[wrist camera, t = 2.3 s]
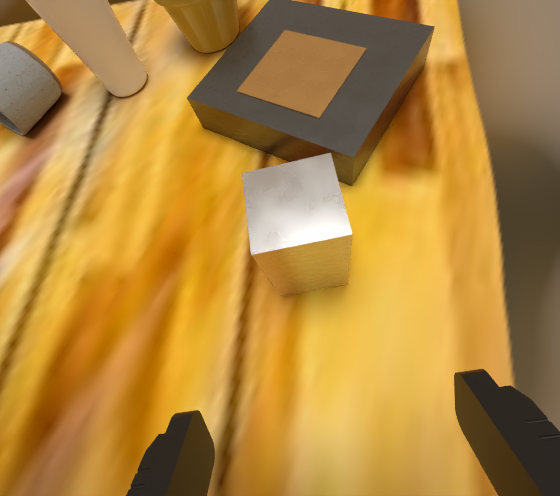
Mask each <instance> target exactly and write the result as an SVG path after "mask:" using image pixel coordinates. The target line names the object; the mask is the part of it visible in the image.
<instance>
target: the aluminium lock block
mask: <svg viewBox="0 0 560 496" xmlns="http://www.w3.org/2000/svg"><path fill="white" fill-rule="evenodd" d="M242 177H243V186H244V195H245V203H246V212H247V221H248V230H249V239H250V248H251V255H252V257H253V258H254V259H255V261H256V262H257V263H258V265H259V266H260V268H261V269H262V270H263V272H264V273H265V275H266V276H267V277H268V279H269V280H270V281H271V283H272V284H273V286H274V287H275V288H276V290H277V291H278V292H279V294H280V295H281V297H282V296H287V295H293V294H298V293H304V292H309V291H314V290H320V289H325V288H330V287H336V286H341V285H346V284H348V283H349V270H350V257H351V245H352V231H351V227H350V224H349V220H348V216H347V212H346V208H345V205H344V201H343V197H342V193H341V190H340V186H339V182H338V178H337V174H336V171H335V167H334V163H333V159H332V156H331V153H327V154H323V155H319V156H314V157H310V158H306V159H301V160H297V161H293V162H289V163H284V164H280V165H276V166H271V167H267V168H263V169H259V170H254V171H250V172H246V173H242Z"/></svg>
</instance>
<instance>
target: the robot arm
mask: <svg viewBox="0 0 560 496" xmlns="http://www.w3.org/2000/svg"><path fill="white" fill-rule="evenodd" d="M454 387H455V411H456V416H457V419H458V422H459V425H460V427H461V430H462V432H463V433H464V435H465V437H466V439H467V441H468V442H469V444H470V446H471V448H472V450H473V451H474V453H475V455H476V457H477V458H478V460H479V462H480V464H481V466H482V467H483V469H484V471H485V473H486V474H487V476H488V478H489V480H490V482H491V483H492V485H493V487H494V489H495V490H496V492H497V494H498V496H560V432H559V431H558V429H557V428H556V427H555V426H554V425H553V424H552V423H551V422H549V421H548V419H547V417H546V416H545V415H544V414H543V412H542V411H541V410H540V409H539V408H538V407H537V406H536V404H535V403H534V402H533V401H532V400H531V399H529V398H528V397H526V396H525V395H524V394H522V393H521V392H519V391H518V390H516V389H515V388H513V387H512V386H503V387H499V386H498V385H497V384H496V383H495V381H494V380H493V379H492V378H491V376H490V375H489V374H488V373H487V372H486V371H485V370H484V369H478V370H471V371H464V372H457V373H455V375H454ZM214 459H215V449H214V443H213V440H212V438H211V435H210V433H209V431H208V429H207V426H206V424H205V422H204V419H203V417H202V415H201V413H200V411H198V410H196V411H189V412H182V413H176V414H174V415H173V416H172V418H171V420H170V423H169V425H168V428H167V430H166V433H165V434H159V435H158V436H157V437H156V439H155V440H154V441H153V442H152V444H151V445H150V446H149V448H148V449H147V450H146V452H145V454H144V456H143V458H142V461H141V463H140V465H139V468H138V473H137V474H135V477H134V479H133V481H132V484H131V489H130V490H128V493H127V495H126V496H207V493H208V488H209V484H210V479H211V475H212V470H213V466H214Z"/></svg>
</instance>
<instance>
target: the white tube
mask: <svg viewBox="0 0 560 496" xmlns="http://www.w3.org/2000/svg"><path fill="white" fill-rule="evenodd" d="M26 1H27V2H28V4H29V5H30V6H31V7H32V8H33V9H34V10H35V11H36V12H37V14H38V15H39V16H40V17H41V18H42V19H43V20H44V21H45V22H46V23H47V24H48V25H49V26H50V27H51V28H52V30H53V31H54V32H55V33H56V34H57V35H58V36H59V37H60V38H61V39H62V40H63V41H64V42H65V43H66V44H67V45H68V47H69V48H70V49H71V50H72V51H73V52H74V53H75V54H76V55H77V56H78V57H79V58H80V59H81V60H82V61H83V63H84V64H85V65H86V66H87V67H88V68H89V69H90V70H91V71H92V72H93V73H94V74H95V75H96V77H97V78H98V79H99V80H100V81H101V82H102V83H103V85H104V86H105V87H106V88H107V90H108V91H109V92H110V93H111V94H113V95H115V96H118V97H126V96H130V95H132V94H134V93H136V92H137V91H139V90H140V89H141V88H142V87H143V86H144V84H145V82H146V79H147V72H146V70H145V68H144V66H143V64H142V63H141V61H140V60H139V58H138V56H137V55H136V53H135V51H134V49H133V47H132V45H131V44H130V42H129V40H128V38H127V36H126V34H125V32H124V31H123V29H122V27H121V25H120V23H119V21H118V19H117V17H116V15H115V14H114V12H113V10H112V8H111V6H110V4H109V2H108V0H26Z"/></svg>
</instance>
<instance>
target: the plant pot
mask: <svg viewBox="0 0 560 496" xmlns="http://www.w3.org/2000/svg"><path fill="white" fill-rule="evenodd" d="M154 1H155V2H156V3H158V4H159V5H161V6H164V8H165V9H166V11H167V12H168V13H169V15H170V16H171V17H172V19H173V20H174V22H175V23H176V24H177V26H178V27H179V29H180V30H181V31H182V33H183V34H184V36H185V37H186V38H187V40H188V41H189V43H190V44H191V46H192V47H193V48H194V49H195V50H197V51H198V52H201V53H212V52H217V51H219V50H222V49H224V48H226V47H227V46H229V45H230V44H231V43H232V42H233V41H234V40H235V39H236V37H237V35H238V33H239V18H238V8H237V0H154Z"/></svg>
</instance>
